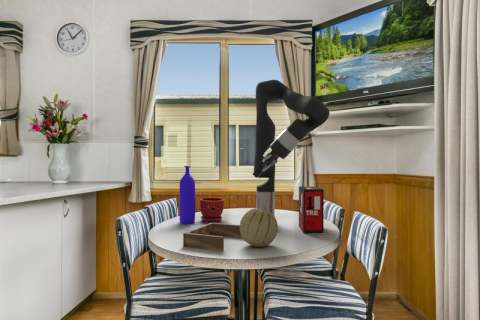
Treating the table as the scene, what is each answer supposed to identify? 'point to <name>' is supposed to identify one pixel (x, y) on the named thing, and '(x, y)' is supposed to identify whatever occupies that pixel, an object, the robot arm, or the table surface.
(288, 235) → the table surface
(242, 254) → the table surface
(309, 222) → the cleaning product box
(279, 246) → the table surface
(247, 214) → the cantaloupe
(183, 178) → the bottle
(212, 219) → the plant pot
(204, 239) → the wooden serving tray
